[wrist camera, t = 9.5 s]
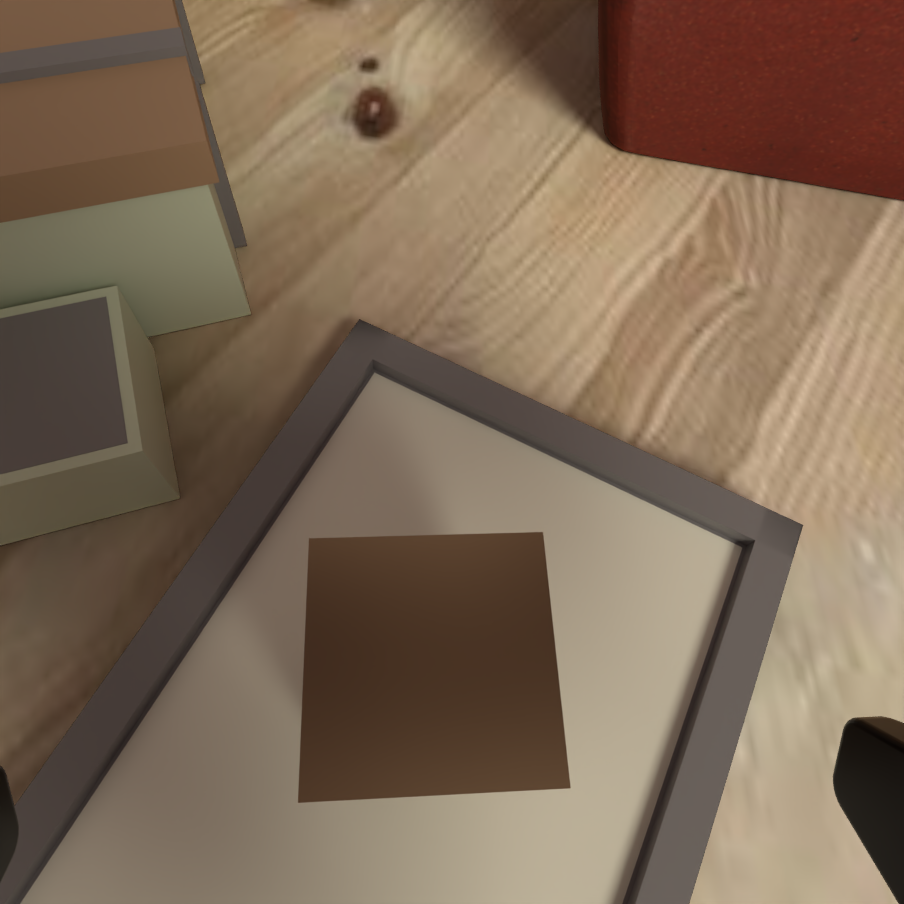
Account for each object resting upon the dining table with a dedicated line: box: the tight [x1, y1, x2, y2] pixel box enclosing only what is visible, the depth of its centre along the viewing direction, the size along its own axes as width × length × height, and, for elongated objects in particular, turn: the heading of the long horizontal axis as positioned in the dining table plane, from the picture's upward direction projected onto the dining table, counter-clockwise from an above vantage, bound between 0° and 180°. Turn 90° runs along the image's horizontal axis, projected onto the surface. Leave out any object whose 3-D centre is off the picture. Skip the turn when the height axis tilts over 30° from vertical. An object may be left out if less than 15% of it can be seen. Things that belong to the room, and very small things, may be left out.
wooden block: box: [298, 532, 571, 803], centre depth 13 cm, size 3×3×8 cm
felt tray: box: [0, 319, 803, 904], centre depth 16 cm, size 13×17×2 cm
